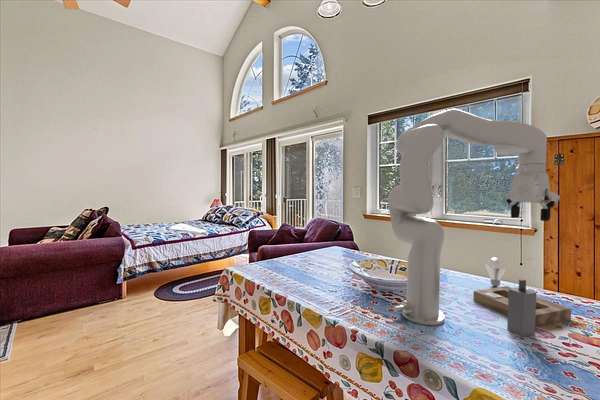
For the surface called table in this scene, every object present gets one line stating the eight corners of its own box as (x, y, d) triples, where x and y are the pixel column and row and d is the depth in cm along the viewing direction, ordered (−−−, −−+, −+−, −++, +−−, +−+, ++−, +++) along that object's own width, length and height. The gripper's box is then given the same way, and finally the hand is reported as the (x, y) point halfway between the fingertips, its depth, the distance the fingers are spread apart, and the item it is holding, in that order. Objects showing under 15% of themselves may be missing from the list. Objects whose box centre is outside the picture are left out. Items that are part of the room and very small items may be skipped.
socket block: (532, 327, 82) (533, 314, 81) (473, 300, 101) (473, 289, 101) (570, 319, 86) (571, 307, 86) (507, 295, 105) (507, 285, 105)
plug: (523, 337, 76) (524, 283, 76) (507, 329, 81) (508, 278, 80) (534, 334, 78) (536, 282, 77) (518, 327, 82) (520, 277, 81)
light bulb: (509, 290, 110) (510, 260, 109) (489, 289, 111) (490, 259, 111) (500, 284, 117) (501, 256, 116) (482, 283, 118) (482, 255, 117)
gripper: (498, 171, 103) (497, 216, 104) (552, 168, 87) (550, 222, 88) (513, 171, 106) (512, 216, 106) (568, 168, 89) (566, 221, 90)
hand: (529, 218), depth 97 cm, fingers open, 9 cm apart
